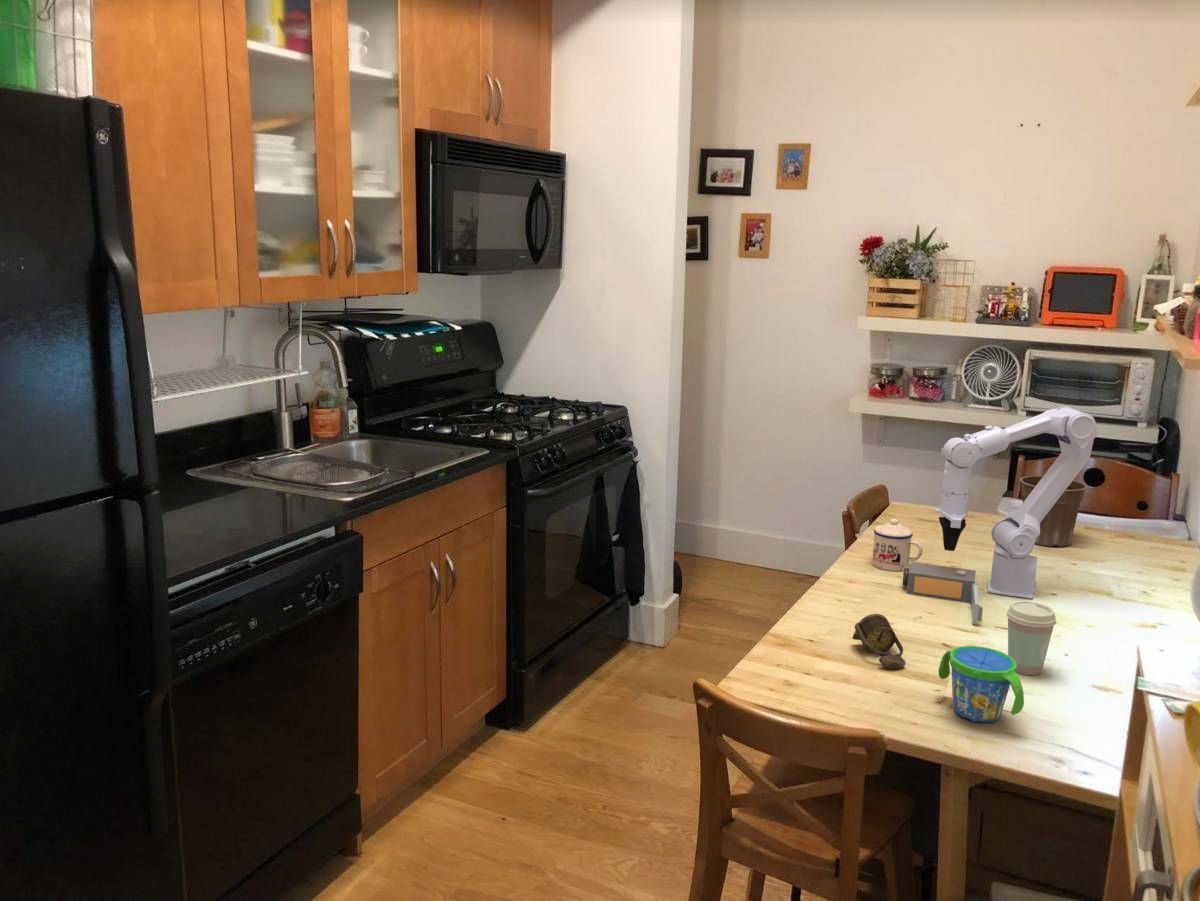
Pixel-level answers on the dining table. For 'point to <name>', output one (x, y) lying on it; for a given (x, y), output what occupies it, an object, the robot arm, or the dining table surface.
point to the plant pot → (1057, 513)
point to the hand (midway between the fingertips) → (949, 549)
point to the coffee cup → (1029, 635)
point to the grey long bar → (975, 604)
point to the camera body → (939, 581)
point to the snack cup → (981, 682)
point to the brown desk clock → (879, 639)
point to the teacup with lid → (893, 546)
